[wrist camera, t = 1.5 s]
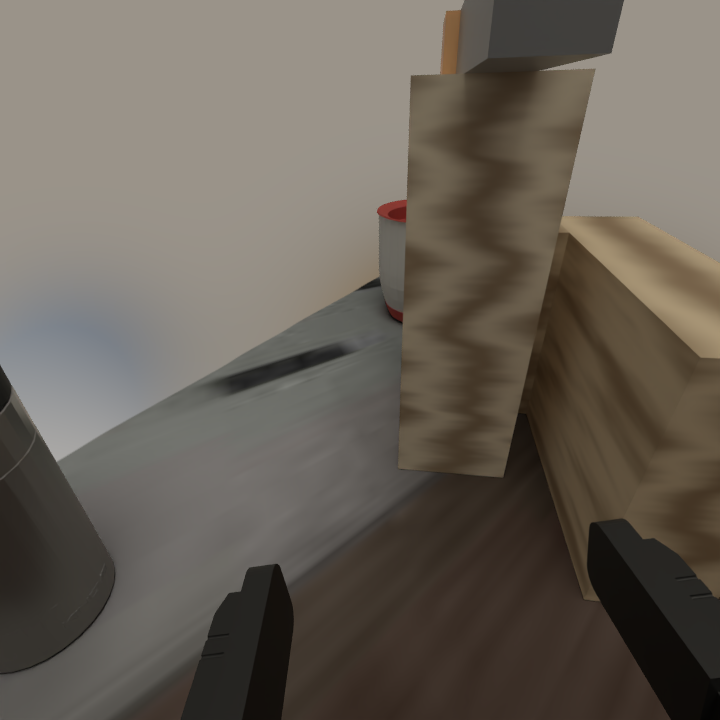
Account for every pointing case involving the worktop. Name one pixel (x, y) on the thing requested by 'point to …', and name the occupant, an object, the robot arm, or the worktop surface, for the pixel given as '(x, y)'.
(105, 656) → the worktop surface
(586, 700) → the worktop surface
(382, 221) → the citrus juicer
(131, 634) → the worktop surface
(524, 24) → the grey and tan bar
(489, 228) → the stand
